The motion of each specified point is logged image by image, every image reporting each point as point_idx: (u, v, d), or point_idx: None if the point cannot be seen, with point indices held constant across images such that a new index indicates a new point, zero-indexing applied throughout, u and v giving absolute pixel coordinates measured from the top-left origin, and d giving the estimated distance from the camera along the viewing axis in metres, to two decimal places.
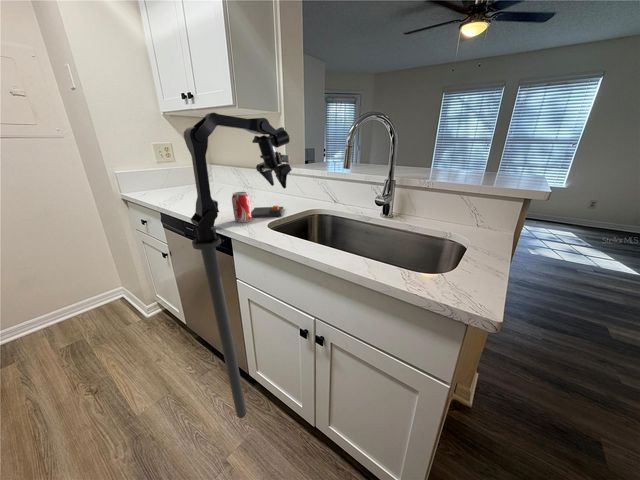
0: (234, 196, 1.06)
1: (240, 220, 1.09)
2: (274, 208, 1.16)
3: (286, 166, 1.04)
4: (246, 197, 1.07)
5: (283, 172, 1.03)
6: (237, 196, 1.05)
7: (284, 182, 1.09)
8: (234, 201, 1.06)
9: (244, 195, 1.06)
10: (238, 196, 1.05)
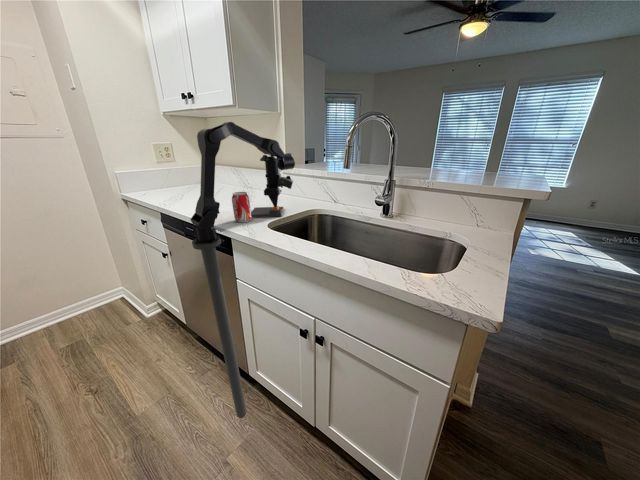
0: (234, 196, 1.06)
1: (240, 220, 1.09)
2: (274, 208, 1.16)
3: (273, 189, 1.05)
4: (246, 197, 1.07)
5: (267, 193, 1.05)
6: (237, 196, 1.05)
7: (275, 201, 1.15)
8: (234, 201, 1.06)
9: (244, 195, 1.06)
10: (238, 196, 1.05)
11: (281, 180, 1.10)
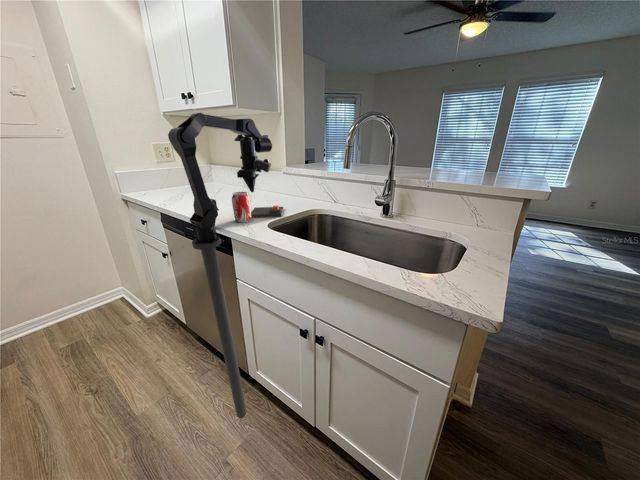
0: (234, 196, 1.06)
1: (240, 220, 1.09)
2: (274, 208, 1.16)
3: (246, 171, 0.98)
4: (246, 197, 1.07)
5: (241, 175, 0.98)
6: (237, 196, 1.05)
7: (251, 186, 1.08)
8: (234, 201, 1.06)
9: (244, 195, 1.06)
10: (238, 196, 1.05)
11: (257, 162, 1.03)
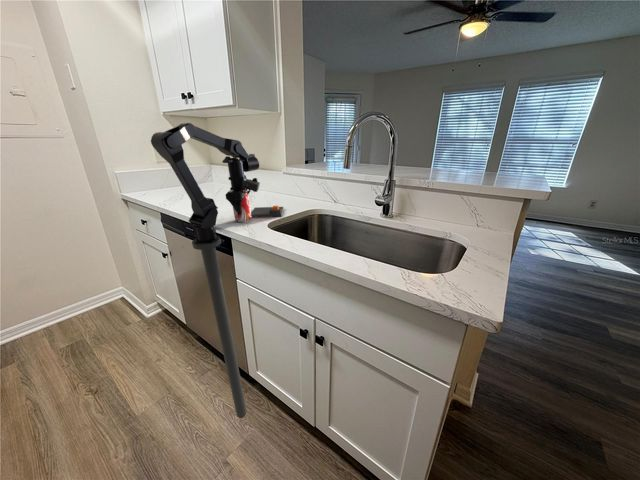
0: None
1: (240, 220, 1.09)
2: (274, 208, 1.16)
3: (235, 193, 0.98)
4: (246, 197, 1.07)
5: (229, 197, 0.99)
6: None
7: (238, 208, 1.04)
8: None
9: (244, 195, 1.06)
10: None
11: (246, 183, 1.04)
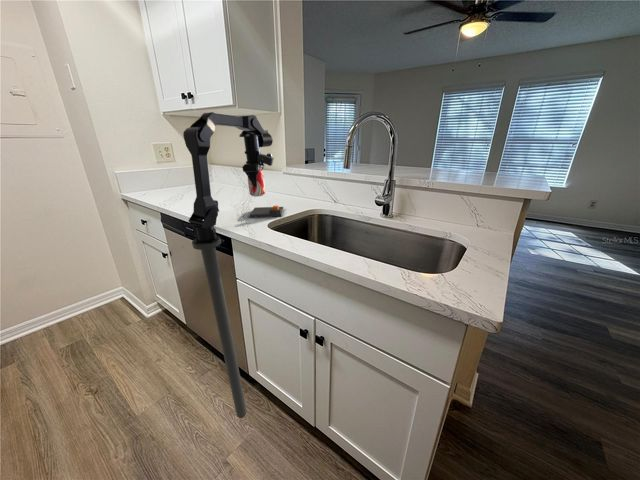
0: None
1: (255, 194, 1.14)
2: (274, 208, 1.16)
3: (251, 165, 1.04)
4: (261, 172, 1.13)
5: (246, 170, 1.04)
6: None
7: (254, 181, 1.10)
8: None
9: None
10: None
11: (261, 157, 1.09)
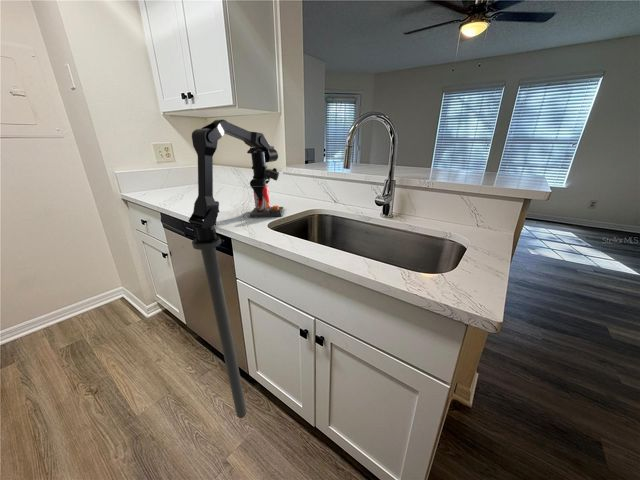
0: None
1: (261, 209, 1.19)
2: (274, 208, 1.16)
3: (258, 180, 1.09)
4: (266, 188, 1.17)
5: (253, 184, 1.09)
6: None
7: (260, 195, 1.15)
8: None
9: (265, 186, 1.17)
10: None
11: (267, 172, 1.14)
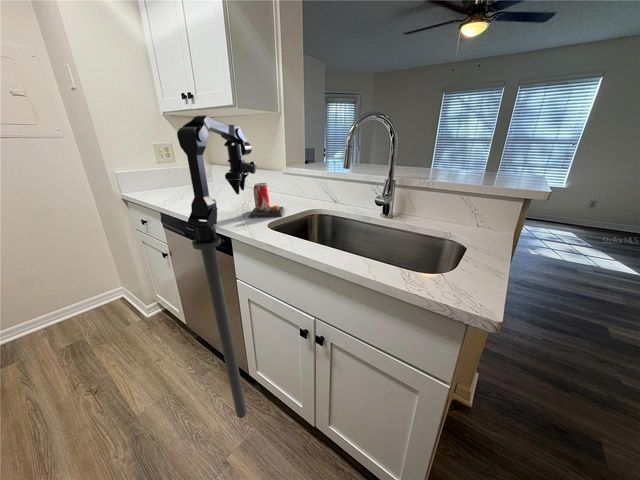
0: (256, 187, 1.16)
1: (261, 209, 1.19)
2: (274, 208, 1.16)
3: (233, 173, 1.07)
4: (266, 188, 1.17)
5: (228, 177, 1.08)
6: (259, 186, 1.16)
7: (236, 188, 1.13)
8: (256, 191, 1.16)
9: (265, 186, 1.17)
10: (259, 186, 1.16)
11: (243, 165, 1.13)
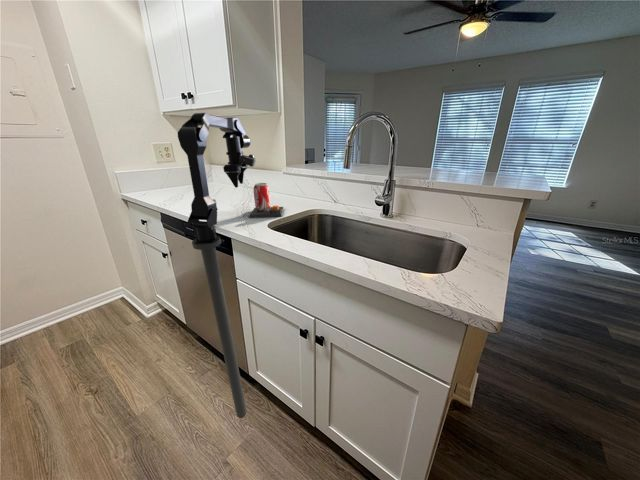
0: (256, 187, 1.16)
1: (261, 209, 1.19)
2: (274, 208, 1.16)
3: (232, 166, 1.06)
4: (266, 188, 1.17)
5: (227, 170, 1.06)
6: (259, 186, 1.16)
7: (235, 181, 1.12)
8: (256, 191, 1.16)
9: (265, 186, 1.17)
10: (259, 186, 1.16)
11: (242, 158, 1.11)
